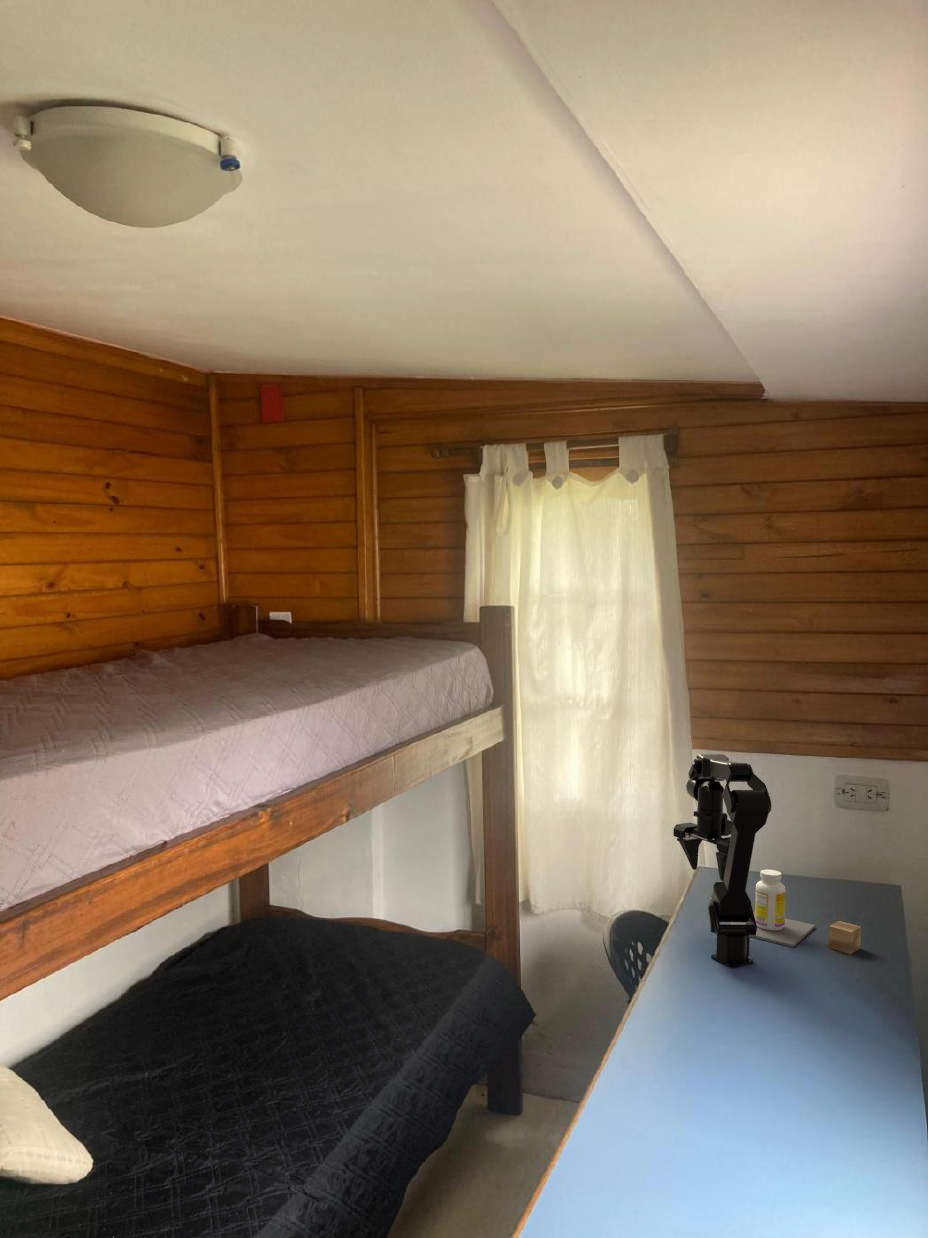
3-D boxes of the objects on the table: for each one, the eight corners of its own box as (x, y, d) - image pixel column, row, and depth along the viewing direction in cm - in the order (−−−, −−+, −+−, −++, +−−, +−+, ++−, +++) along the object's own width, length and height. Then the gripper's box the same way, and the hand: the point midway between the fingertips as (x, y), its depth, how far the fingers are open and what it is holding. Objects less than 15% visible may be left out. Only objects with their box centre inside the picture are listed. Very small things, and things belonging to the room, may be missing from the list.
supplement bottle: (783, 923, 223) (785, 869, 223) (785, 933, 217) (786, 878, 217) (754, 920, 225) (756, 867, 225) (754, 929, 219) (756, 875, 219)
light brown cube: (850, 954, 207) (851, 932, 207) (828, 948, 210) (829, 926, 210) (860, 949, 210) (861, 926, 210) (838, 942, 214) (838, 920, 214)
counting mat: (793, 947, 210) (793, 944, 210) (723, 930, 220) (723, 928, 220) (814, 927, 223) (815, 925, 223) (748, 912, 233) (748, 910, 233)
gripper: (766, 813, 215) (764, 881, 215) (707, 797, 231) (705, 860, 231) (729, 818, 209) (728, 888, 210) (672, 801, 225) (670, 866, 226)
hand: (708, 875), depth 219 cm, fingers open, 9 cm apart
